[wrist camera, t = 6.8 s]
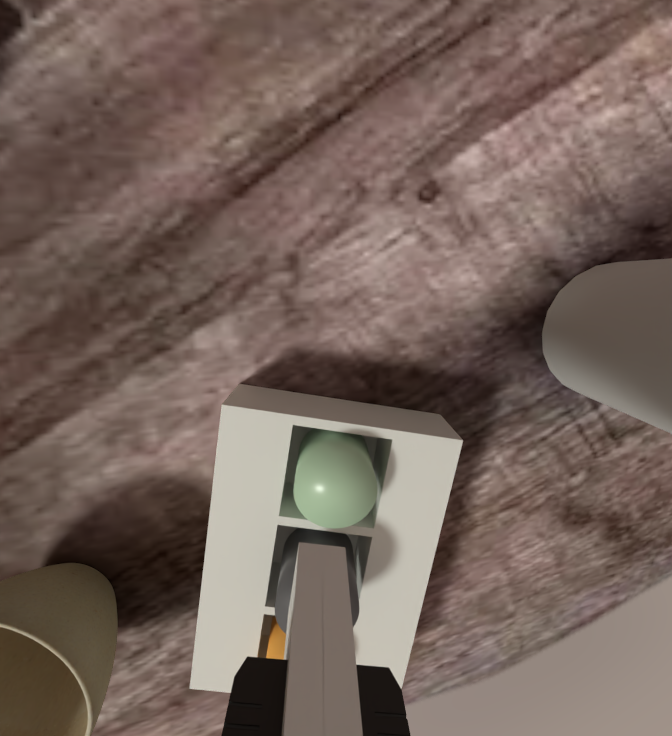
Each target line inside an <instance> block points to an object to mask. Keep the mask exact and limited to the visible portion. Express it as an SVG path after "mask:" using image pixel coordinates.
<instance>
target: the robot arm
mask: <svg viewBox="0 0 672 736" xmlns="http://www.w3.org/2000/svg"><path fill="white" fill-rule="evenodd" d="M222 736H410V731H409V726H408V721H407V719H406V711H405V706H404V700H403V695H402V690H401V688H400V686H399V684H398V682H397V681H396V679H395V677H394V675H393V674H392V672H391V670H390V668H389V667H378V666H367V665H356V657H355V646H354V635H353V624H352V614H351V603H350V592H349V582H348V571H347V560H346V549H345V547H338V546H329V545H319V544H310V543H301V542H299V545H298V552H297V558H296V565H295V571H294V578H293V585H292V591H291V598H290V604H289V611H288V620H287V630H286V641H285V651H284V660H283V659H271V658H260V657H248V656H247V658H246V659H245V661H244V662H243V664H242V665H241V667H240V668H239V670H238V672H237V673H236V675H235V676H234V680H233V685H232V689H231V694H230V699H229V704H228V708H227V713H226V717H225V722H224V728H223V731H222Z"/></svg>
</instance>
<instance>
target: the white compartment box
mask: <svg viewBox="0 0 672 736" xmlns="http://www.w3.org/2000/svg"><path fill="white" fill-rule="evenodd" d="M313 428H317V429H324V430H331V431H337V432H344V433H351V434H358V435H362V436H363V438H364V440H365V442H366V444H367V447H368V451H369V455H370V459H371V462H372V466H373V470H374V473H375V477H376V481H377V487H378V492H377V498H376V501H375V504H374V506H373V508H372V509H371V511H370V512H369V513H368V515H367V516H365V517H364V518H363V519H362V520H361V521H359V522H357V523H356V524H353V525H351V526H348V527H344V528H335V529H334V528H325V527H322V526H318V525H316V524H314V523H312V522H311V521H309V520H308V519H307V518H305V517H304V515H303V514H302V513H301V512H300V511H299V509H298V507H297V505H296V502H295V499H294V492H293V489H294V481H295V474H296V466H297V459H298V452H299V447H300V444H301V442H302V440H303V438H304V437H305V435H306V434H307V433H308V432H309V431H310V430H312V429H313ZM462 443H463V440H462V438H461V437H460V436H459V435H458V434H457V433H456V432H455V431H454V429H453V428H452V427H451V426H450V425H449V424H448V423H447V422H446V420H445V419H444V418H443V417H442V416H441V415H440V414H435V413H428V412H422V411H415V410H408V409H402V408H395V407H389V406H382V405H376V404H369V403H362V402H356V401H349V400H343V399H336V398H330V397H323V396H316V395H310V394H303V393H297V392H290V391H284V390H277V389H271V388H264V387H257V386H251V385H244V384H238V386H237V387H236V388H235V389H234V390H233V392H232V393H231V394H230V395H229V396H228V398H227V399H226V400H225V401H224V403H223V404H222V408H221V416H220V425H219V434H218V443H217V452H216V461H215V469H214V478H213V487H212V496H211V505H210V513H209V522H208V531H207V540H206V549H205V557H204V566H203V575H202V584H201V593H200V602H199V610H198V619H197V628H196V637H195V646H194V654H193V663H192V672H191V681H190V689H198V690H208V691H218V692H228V693H231V689H232V685H233V680H234V676H235V675H236V673H237V672H238V670H239V668H240V667H241V665H242V664H243V662H244V661H245V659H246V658H247V656H248V657H260V658H266V656H267V649H268V643H269V636H270V629H271V623H272V616H273V615H275V602H276V595H277V588H278V581H279V575H280V568H281V561H282V554H283V548H284V544H285V542H286V540H287V538H288V537H289V535H290V534H291V533H292V532H293V531H294V530H296V529H297V528H307V529H314V530H322V531H330V532H338V533H345V534H347V536H348V537H349V539H350V541H351V543H352V547H353V554H354V562H355V571H356V580H357V589H358V598H359V616H358V620H357V622H356V624H355V625H354V627H353V635H354V646H355V657H356V665H367V666H378V667H389V668H390V670H391V672H392V674H393V675H394V677H395V679H396V681H397V682H398V684H399V686H400V688H401V689H402V685H403V681H404V677H405V673H406V668H407V664H408V660H409V656H410V652H411V648H412V644H413V640H414V636H415V632H416V628H417V624H418V620H419V616H420V612H421V608H422V604H423V600H424V596H425V592H426V588H427V584H428V580H429V576H430V572H431V568H432V564H433V560H434V556H435V552H436V548H437V544H438V540H439V536H440V532H441V528H442V524H443V520H444V516H445V512H446V508H447V504H448V500H449V496H450V492H451V487H452V483H453V479H454V475H455V471H456V467H457V463H458V459H459V455H460V451H461V447H462Z"/></svg>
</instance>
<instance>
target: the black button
mask: <svg viewBox="0 0 672 736" xmlns="http://www.w3.org/2000/svg"><path fill="white" fill-rule="evenodd" d="M299 542H301V543H310V544H319V545H329V546H338V547H345V549H346V560H347V571H348V582H349V592H350V603H351V614H352V624H353V627H354V625H355V624H356V622H357V620H358V616H359V598H358V589H357V580H356V571H355V562H354V554H353V547H352V543H351V541H350V539H349V537H348V536H347V534H345V533H338V532H330V531H322V530H314V529H307V528H297V529H296V530H294V531H293V532H292V533H291V534H290V535H289V537H288V538H287V540H286V542H285V544H284V548H283V554H282V561H281V568H280V575H279V581H278V588H277V595H276V602H275V617H276V620H277V623H278V625H279V627H280V628H281V629H282V631H283V632H284V633H285V634H286V630H287V620H288V611H289V604H290V598H291V591H292V585H293V578H294V571H295V565H296V558H297V552H298V545H299Z"/></svg>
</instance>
